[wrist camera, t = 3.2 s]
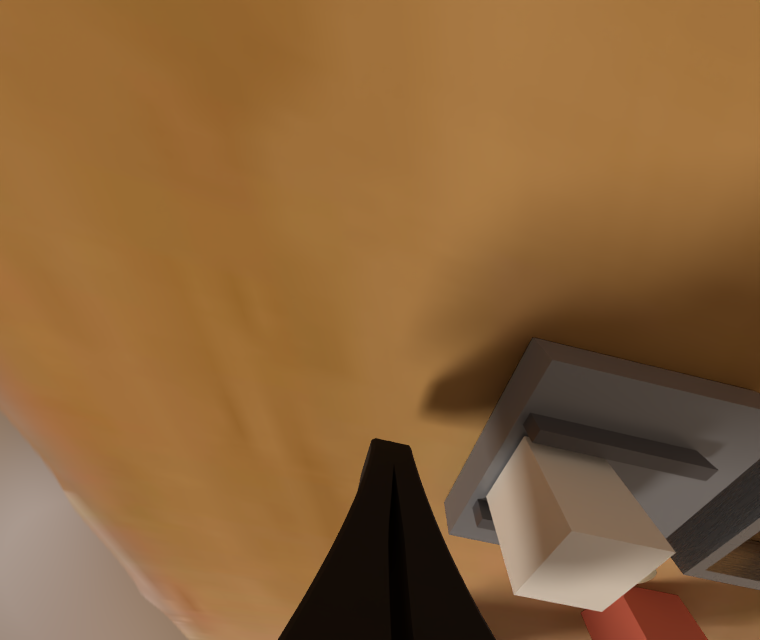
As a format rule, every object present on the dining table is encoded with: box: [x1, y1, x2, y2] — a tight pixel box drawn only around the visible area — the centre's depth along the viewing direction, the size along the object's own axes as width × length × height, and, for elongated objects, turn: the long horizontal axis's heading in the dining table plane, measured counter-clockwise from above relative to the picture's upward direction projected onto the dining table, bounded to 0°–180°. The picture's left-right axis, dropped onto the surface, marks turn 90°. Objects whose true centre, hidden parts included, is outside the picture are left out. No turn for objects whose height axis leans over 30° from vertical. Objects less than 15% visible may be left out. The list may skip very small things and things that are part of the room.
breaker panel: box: [444, 338, 760, 584], centre depth 12 cm, size 10×9×2 cm
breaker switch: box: [486, 436, 676, 612], centre depth 10 cm, size 4×3×3 cm
